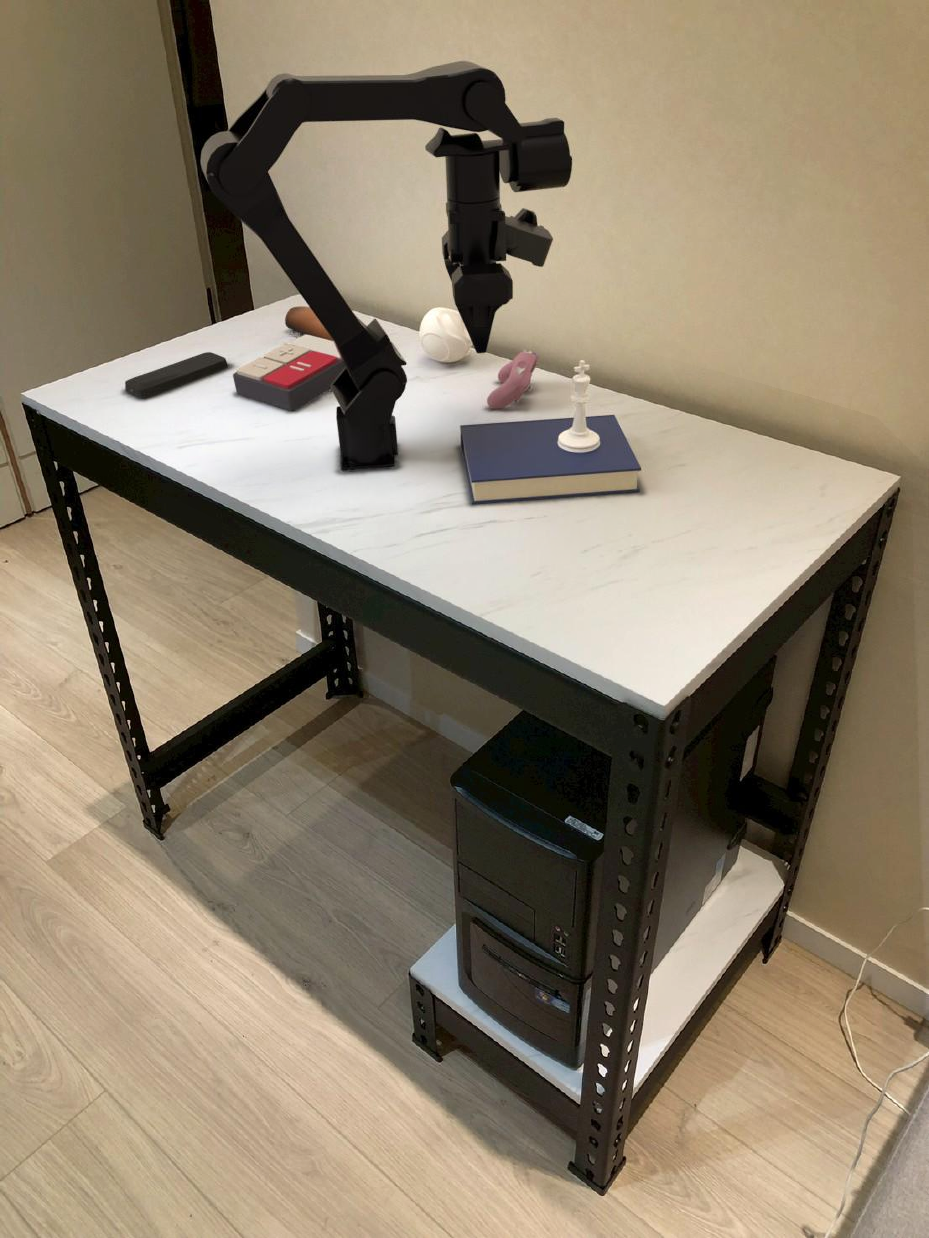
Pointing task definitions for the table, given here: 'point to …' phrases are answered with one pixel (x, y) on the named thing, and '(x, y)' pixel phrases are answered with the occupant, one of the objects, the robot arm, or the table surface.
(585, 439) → the chess piece
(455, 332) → the white ball
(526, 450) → the blue book
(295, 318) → the sunglasses case
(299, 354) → the calculator
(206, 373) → the remote control
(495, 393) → the video game controller
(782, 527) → the table surface
